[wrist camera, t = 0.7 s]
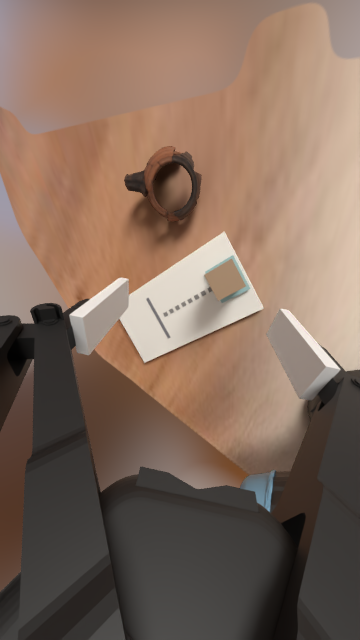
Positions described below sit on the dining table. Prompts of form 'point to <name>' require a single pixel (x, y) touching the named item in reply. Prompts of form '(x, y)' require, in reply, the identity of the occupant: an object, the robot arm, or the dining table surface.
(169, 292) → the board
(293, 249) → the dining table surface
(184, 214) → the dark brown looped ring
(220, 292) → the stub
